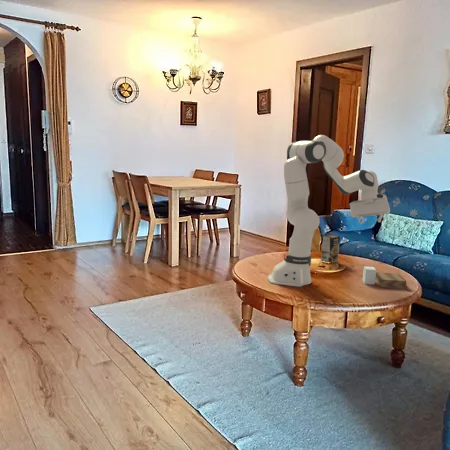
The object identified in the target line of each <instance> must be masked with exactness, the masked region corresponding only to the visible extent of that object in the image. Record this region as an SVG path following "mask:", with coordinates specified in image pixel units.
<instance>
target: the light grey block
mask: <svg viewBox="0 0 450 450" xmlns="http://www.w3.org/2000/svg"><path fill="white" fill-rule="evenodd" d="M362 271H363V272H362V283H363V284H364V285H375V282H376V280H375V276H376V272H377V269H376V267H374V266H366V265H365V266H363V270H362Z"/></svg>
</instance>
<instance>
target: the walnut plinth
mask: <svg viewBox="0 0 450 450" xmlns="http://www.w3.org/2000/svg"><path fill="white" fill-rule="evenodd" d="M375 282H376V283H377V284H378V285H379V286H380V288H388V287H389V289H390V288H391V289H404V288H405V289H406V285H407V280H406V279H405V278H404V277H403V276H402V275H401V274H400V273H395V272H377V271H376V275H375Z"/></svg>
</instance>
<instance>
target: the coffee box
mask: <svg viewBox="0 0 450 450" xmlns="http://www.w3.org/2000/svg"><path fill="white" fill-rule="evenodd" d="M340 241H341V236H340V235H336V234H328V235H323V236H322V246H321V255H320V262H321V261H325V262H336V263H338V262H339V255H340V254H339V253H340V243H341V242H340Z"/></svg>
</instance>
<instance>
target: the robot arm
mask: <svg viewBox="0 0 450 450" xmlns="http://www.w3.org/2000/svg"><path fill="white" fill-rule="evenodd" d="M286 149H287V150H286V159H287V160H286V161H285V162H284V164H283V175H284V176H283V177H284V185H285V190H286V198H287V203H286V204H287V205H286V206H287V207H286V213H285V216H286V219H287V220H288V222H289V224H290V225H292V226H294V227H293V232H292V234H291V237H290V238H289V244H288V252H286V251H285V252H283V257H284V259H283V260H282V261H280V262H279V263H277V264H276V265H275V266H274V267H273V270H272V272H271V273H269V274H268V276H267V281H268V282H269V283H271V284H274V285H284V286H292V287H298V288H300V287H303V286H307V285H309V284H311V283H312V278H311V264H312V255H311V251H312V243H313V238H314V235H315V232H316V230H317V229H318V228H319V226H320V222H321V221H320V216H319V215H318V214H317V213H316V212H315V210H313V209H311V208H309V206H308V205H309V203H308V201H309V196H310V187H309V181H308V177H307V175H308V174H307V169H306V168H307V164H317V163H319V162H321V161H322V163H323V164H322V167H323V170H324V171H325V173H326V174H327V176H328V177H329V179H331V180H332V182H333V183H334V184H335V187H336V188H337V189H338V191H339V192H340V193H341V194H343V195H346V196H347V195H350V194H352V193H354V192H357V191H359V190H360V191H361V193H360V200H359V199H358V200H353V201H352V202H350V203H349V208H350V209H349V215H350V217H352V218H357V220H358V224H360V225H362V224H363V220H362V219H361V218H362V217H370V216H371V217H372V216H379V217H377V222H378V223H381V222H382V219H383V217H384V215H389V214H390V213H391V208H390V203H389V201H388V197H387V195H386V194H385V193H384V194H383V193H379V192H378V191H379V190H378V189H379V180H378V176H377V174H376V172H375V171H372V170H364V169H360V170H357V171H354V172H352V173H350V174H347V175H342V174H341V173H340V172H339V171H338V168H339V167H340V166H341V164H342V163H343V162H344V158H345V153H344V150H343V148H342V147H341V146H340V145H339V144H338V143H336V142H335V141H334V140H333V139H331V138H329V136H327V135H324V134H319V135H317V136H314V138H313V139H312V140H308V139H307V140H304V139H303V140H299V141H298V140H297V141H293V142H291V143H290V144H289V145H288V147H287V148H286Z"/></svg>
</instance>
